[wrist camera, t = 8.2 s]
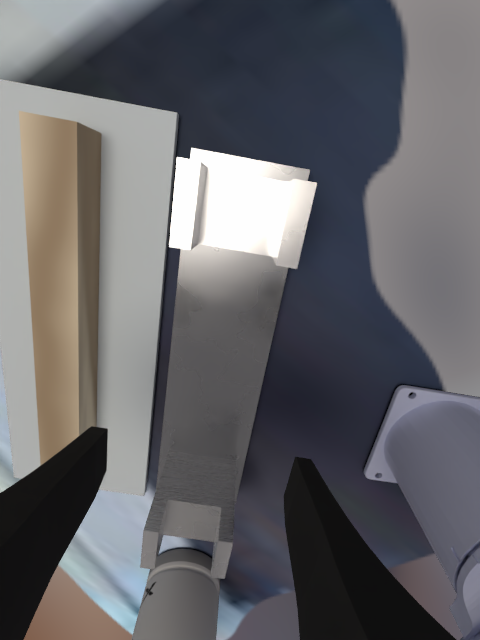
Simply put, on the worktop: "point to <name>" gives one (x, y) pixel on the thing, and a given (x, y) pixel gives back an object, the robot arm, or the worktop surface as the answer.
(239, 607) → the worktop surface
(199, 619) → the travel mug
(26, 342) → the mat
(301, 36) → the worktop surface
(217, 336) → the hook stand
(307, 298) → the worktop surface
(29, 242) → the rail
